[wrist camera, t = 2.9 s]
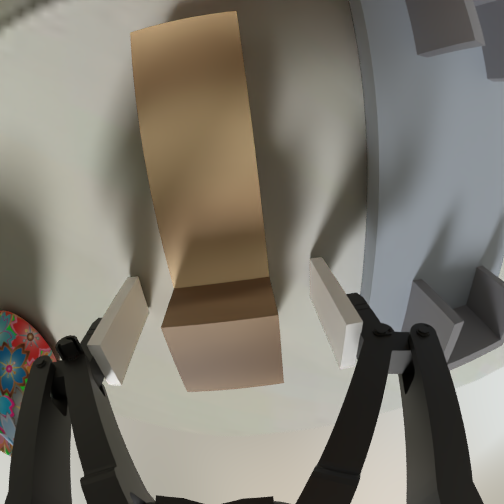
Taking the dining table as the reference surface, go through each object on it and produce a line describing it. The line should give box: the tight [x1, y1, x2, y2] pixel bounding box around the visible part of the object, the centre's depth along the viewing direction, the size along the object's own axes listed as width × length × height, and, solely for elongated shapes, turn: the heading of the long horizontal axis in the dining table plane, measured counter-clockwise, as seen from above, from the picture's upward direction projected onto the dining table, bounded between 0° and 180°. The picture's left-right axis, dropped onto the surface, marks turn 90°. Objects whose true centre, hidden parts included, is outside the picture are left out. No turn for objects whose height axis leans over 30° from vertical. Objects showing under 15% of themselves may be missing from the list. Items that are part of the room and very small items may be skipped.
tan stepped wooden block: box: [130, 11, 284, 392], centre depth 12 cm, size 18×4×7 cm, turn 7°
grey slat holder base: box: [349, 0, 504, 371], centre depth 12 cm, size 29×14×6 cm, turn 5°
